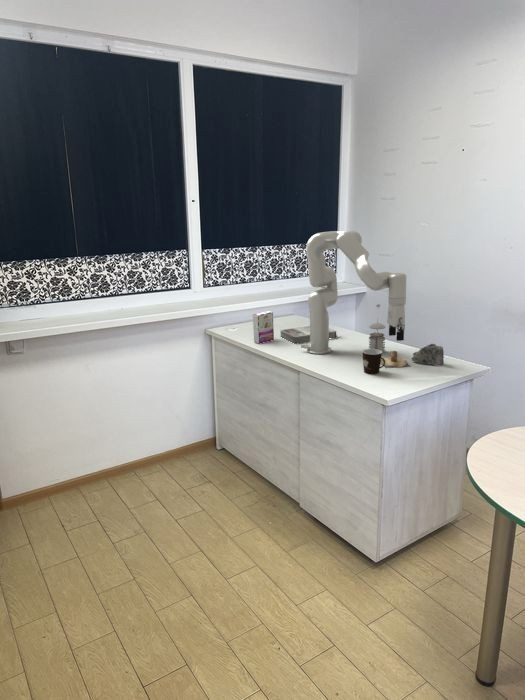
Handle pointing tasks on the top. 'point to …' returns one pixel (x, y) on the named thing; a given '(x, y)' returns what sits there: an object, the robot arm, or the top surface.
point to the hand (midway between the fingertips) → (396, 337)
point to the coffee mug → (372, 361)
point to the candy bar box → (263, 327)
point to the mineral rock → (429, 355)
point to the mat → (397, 367)
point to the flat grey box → (301, 334)
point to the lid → (394, 361)
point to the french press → (377, 337)
